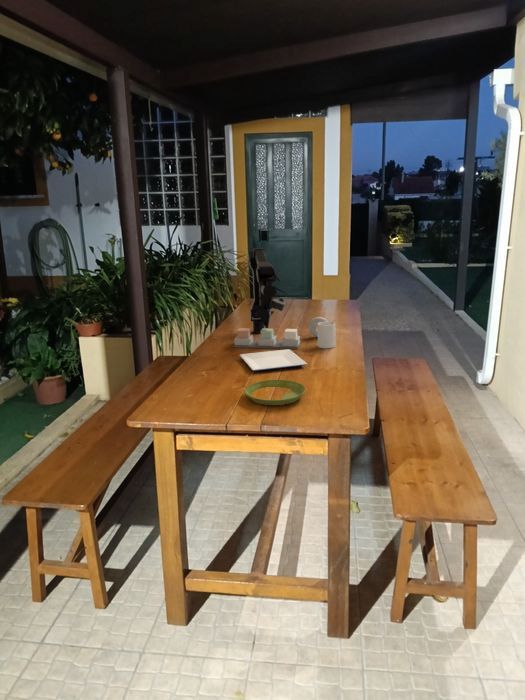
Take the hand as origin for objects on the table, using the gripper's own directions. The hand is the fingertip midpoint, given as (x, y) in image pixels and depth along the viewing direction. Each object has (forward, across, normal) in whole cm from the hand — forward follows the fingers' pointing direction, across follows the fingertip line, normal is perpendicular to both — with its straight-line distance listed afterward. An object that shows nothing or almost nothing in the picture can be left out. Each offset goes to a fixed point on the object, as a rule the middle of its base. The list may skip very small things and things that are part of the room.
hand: (266, 327), depth 249 cm
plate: (+8, -26, -7) cm, 28 cm away
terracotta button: (+5, 0, +11) cm, 12 cm away
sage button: (+5, 0, 0) cm, 5 cm away
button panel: (+8, 0, 0) cm, 8 cm away
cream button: (+5, 0, -11) cm, 12 cm away
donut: (+8, +16, -22) cm, 28 cm away
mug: (+8, +3, -27) cm, 28 cm away
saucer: (+8, -64, -15) cm, 66 cm away
